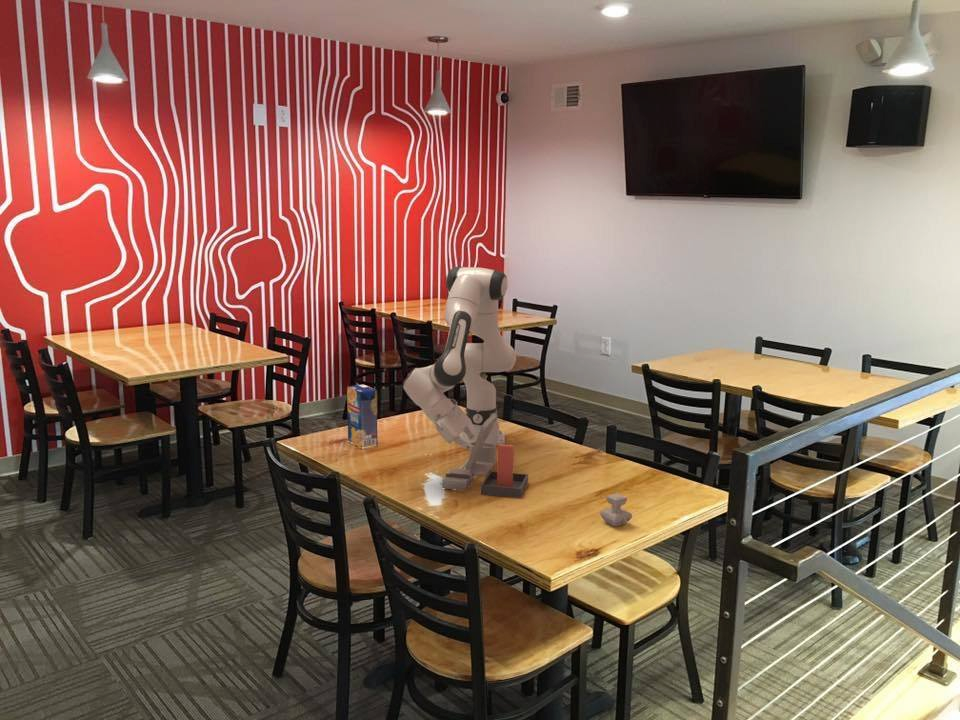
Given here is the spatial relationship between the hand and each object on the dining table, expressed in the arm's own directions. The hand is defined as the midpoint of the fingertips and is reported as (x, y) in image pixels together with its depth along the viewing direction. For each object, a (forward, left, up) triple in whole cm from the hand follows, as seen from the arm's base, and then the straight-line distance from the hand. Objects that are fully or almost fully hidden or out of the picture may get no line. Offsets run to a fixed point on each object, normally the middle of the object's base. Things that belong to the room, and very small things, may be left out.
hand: (470, 443), depth 251 cm
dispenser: (0, -4, -14) cm, 15 cm away
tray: (0, +12, -14) cm, 19 cm away
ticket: (0, +12, -14) cm, 18 cm away
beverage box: (-32, -50, -15) cm, 61 cm away
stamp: (+20, +48, -15) cm, 54 cm away
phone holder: (-19, -2, -15) cm, 24 cm away
